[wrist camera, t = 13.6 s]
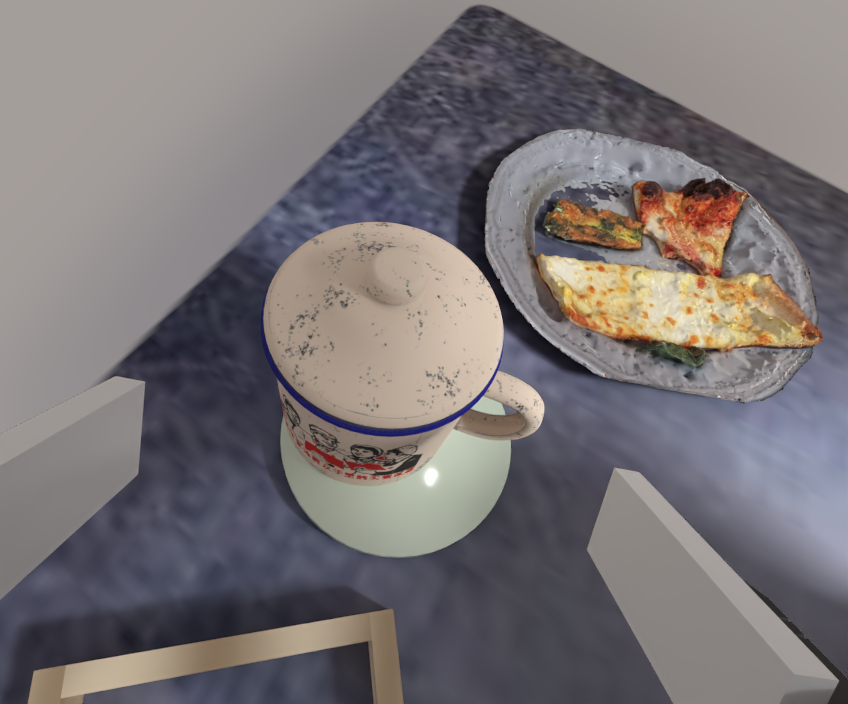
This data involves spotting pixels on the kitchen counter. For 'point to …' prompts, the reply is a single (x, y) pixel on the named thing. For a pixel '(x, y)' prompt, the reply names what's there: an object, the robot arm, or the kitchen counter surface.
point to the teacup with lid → (387, 352)
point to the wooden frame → (230, 658)
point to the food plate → (652, 268)
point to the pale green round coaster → (406, 496)
